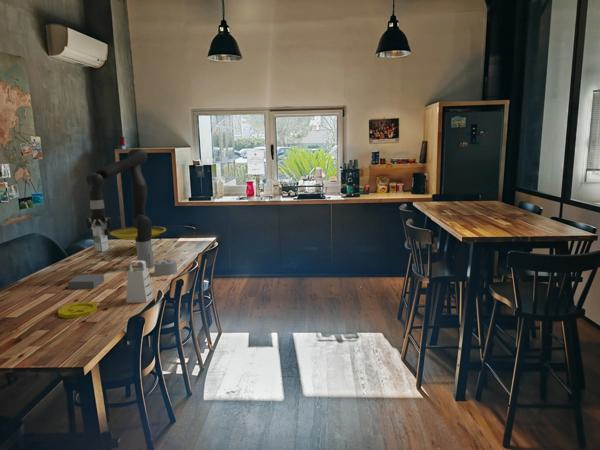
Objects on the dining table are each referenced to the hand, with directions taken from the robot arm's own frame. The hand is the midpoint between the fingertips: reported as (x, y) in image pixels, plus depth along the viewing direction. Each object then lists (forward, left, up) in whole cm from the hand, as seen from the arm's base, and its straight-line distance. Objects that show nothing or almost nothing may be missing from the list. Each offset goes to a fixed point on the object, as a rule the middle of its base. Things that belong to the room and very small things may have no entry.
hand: (100, 235), depth 278 cm
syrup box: (0, 0, -10) cm, 10 cm away
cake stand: (+1, -68, -26) cm, 73 cm away
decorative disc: (-12, +59, -26) cm, 66 cm away
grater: (-36, +42, -26) cm, 61 cm away
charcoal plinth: (+3, +16, -25) cm, 30 cm away
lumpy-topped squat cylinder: (-36, -6, -26) cm, 45 cm away
